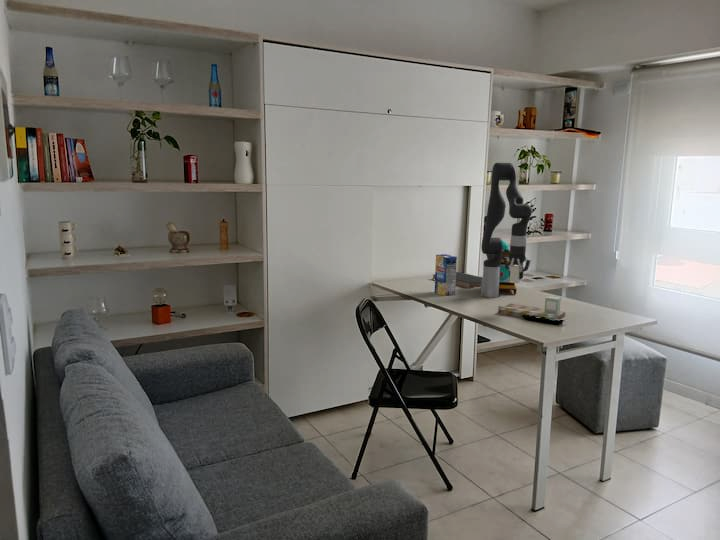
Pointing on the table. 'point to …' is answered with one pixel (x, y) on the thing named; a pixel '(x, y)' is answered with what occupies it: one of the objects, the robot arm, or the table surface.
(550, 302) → the green carton
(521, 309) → the walnut shelf
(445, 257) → the beverage box
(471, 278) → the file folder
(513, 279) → the cream carton
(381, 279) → the table surface
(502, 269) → the decorative lantern
